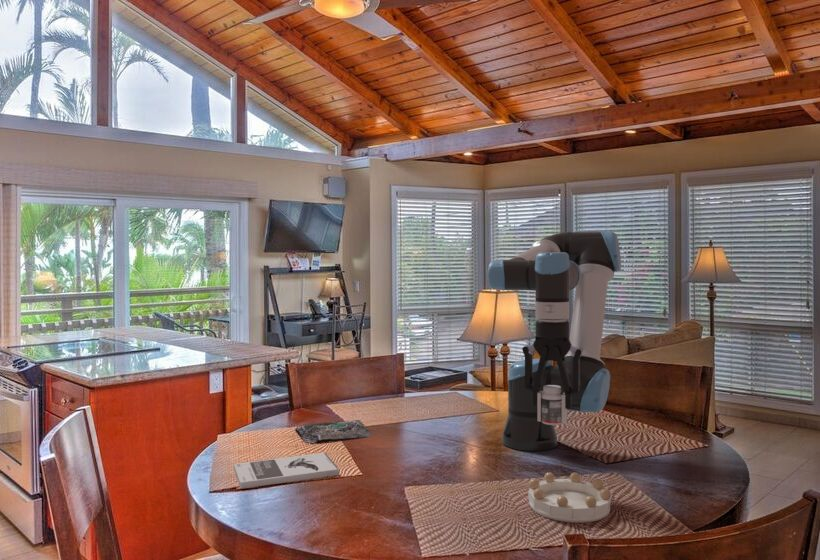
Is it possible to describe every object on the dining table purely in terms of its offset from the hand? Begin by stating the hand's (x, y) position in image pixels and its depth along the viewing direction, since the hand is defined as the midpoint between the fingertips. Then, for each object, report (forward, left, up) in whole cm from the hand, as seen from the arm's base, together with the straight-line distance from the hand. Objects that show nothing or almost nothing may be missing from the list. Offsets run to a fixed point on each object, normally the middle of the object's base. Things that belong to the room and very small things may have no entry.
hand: (552, 420), depth 145 cm
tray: (+6, -12, -14) cm, 20 cm away
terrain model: (-67, +15, -15) cm, 71 cm away
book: (-61, -18, -15) cm, 65 cm away
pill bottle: (0, 0, -1) cm, 1 cm away
